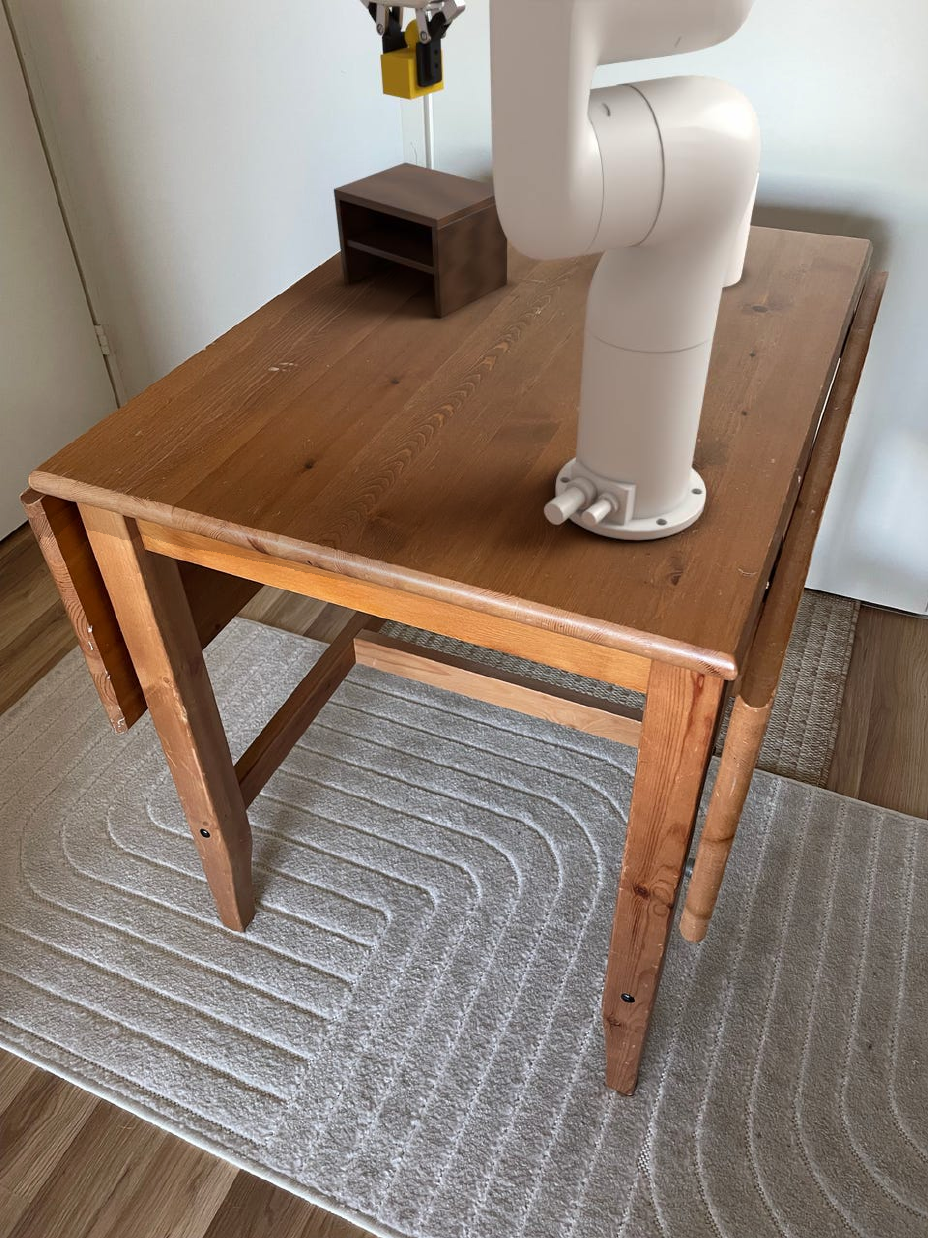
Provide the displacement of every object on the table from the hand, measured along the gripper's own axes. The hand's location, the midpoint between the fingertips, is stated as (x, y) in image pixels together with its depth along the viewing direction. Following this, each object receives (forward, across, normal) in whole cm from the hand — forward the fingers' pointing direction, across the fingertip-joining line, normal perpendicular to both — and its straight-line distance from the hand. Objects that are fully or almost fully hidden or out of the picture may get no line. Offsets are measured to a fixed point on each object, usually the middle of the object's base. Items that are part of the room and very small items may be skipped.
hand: (413, 78), depth 98 cm
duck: (+1, 0, 0) cm, 1 cm away
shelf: (+22, 0, 0) cm, 22 cm away
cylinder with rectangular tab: (+22, +25, +23) cm, 41 cm away
